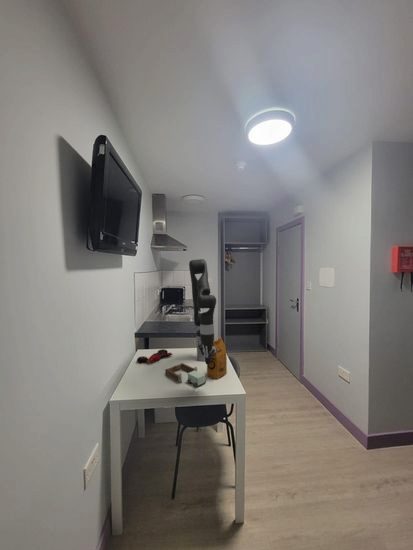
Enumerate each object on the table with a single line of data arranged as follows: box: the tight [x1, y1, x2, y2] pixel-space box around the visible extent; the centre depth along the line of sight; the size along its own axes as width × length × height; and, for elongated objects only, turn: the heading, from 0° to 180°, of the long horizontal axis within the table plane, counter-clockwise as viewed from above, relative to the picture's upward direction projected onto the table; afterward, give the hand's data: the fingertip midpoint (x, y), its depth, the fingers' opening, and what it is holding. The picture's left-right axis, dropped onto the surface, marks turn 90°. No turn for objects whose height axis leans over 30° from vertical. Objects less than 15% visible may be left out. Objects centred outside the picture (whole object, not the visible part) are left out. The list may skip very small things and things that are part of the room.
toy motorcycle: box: [136, 349, 173, 364], centre depth 170 cm, size 25×5×16 cm
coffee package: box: [206, 336, 228, 380], centre depth 144 cm, size 10×12×22 cm
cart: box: [186, 370, 207, 388], centre depth 134 cm, size 9×7×5 cm
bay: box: [164, 363, 198, 384], centre depth 144 cm, size 14×15×5 cm
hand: (207, 363), depth 126 cm, fingers closed
